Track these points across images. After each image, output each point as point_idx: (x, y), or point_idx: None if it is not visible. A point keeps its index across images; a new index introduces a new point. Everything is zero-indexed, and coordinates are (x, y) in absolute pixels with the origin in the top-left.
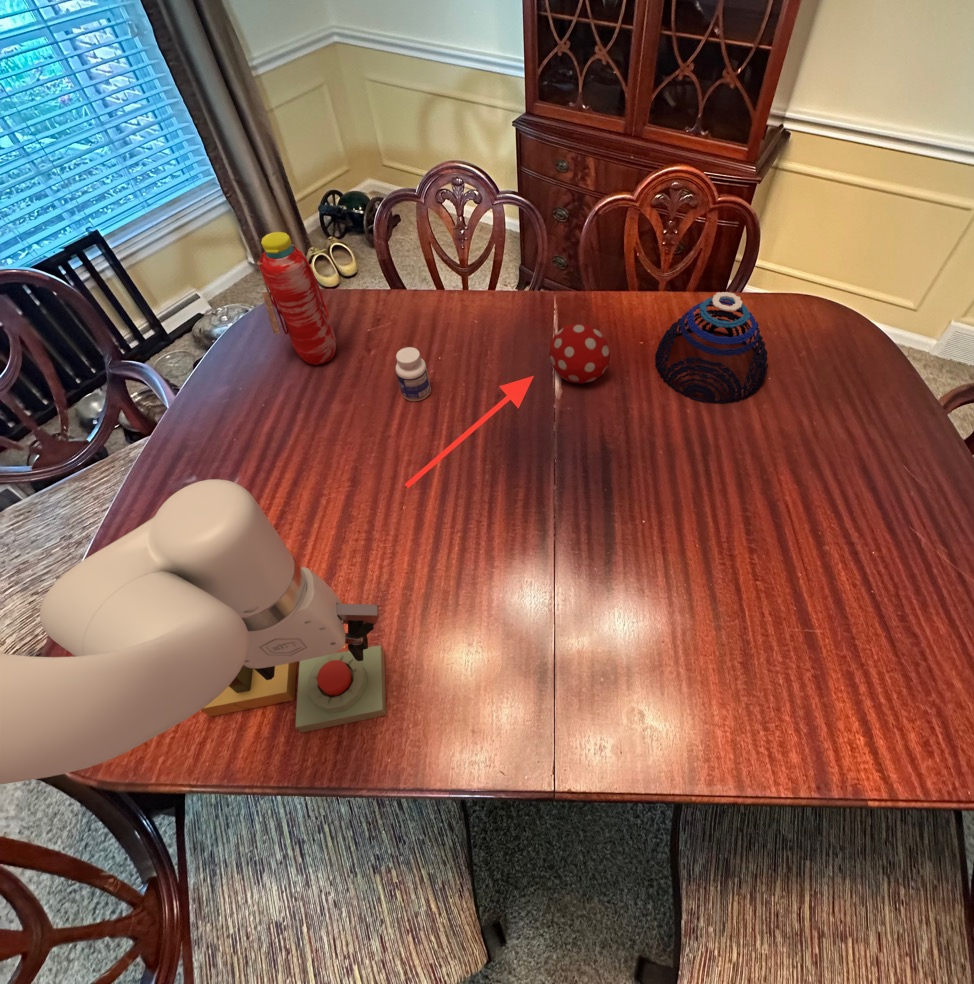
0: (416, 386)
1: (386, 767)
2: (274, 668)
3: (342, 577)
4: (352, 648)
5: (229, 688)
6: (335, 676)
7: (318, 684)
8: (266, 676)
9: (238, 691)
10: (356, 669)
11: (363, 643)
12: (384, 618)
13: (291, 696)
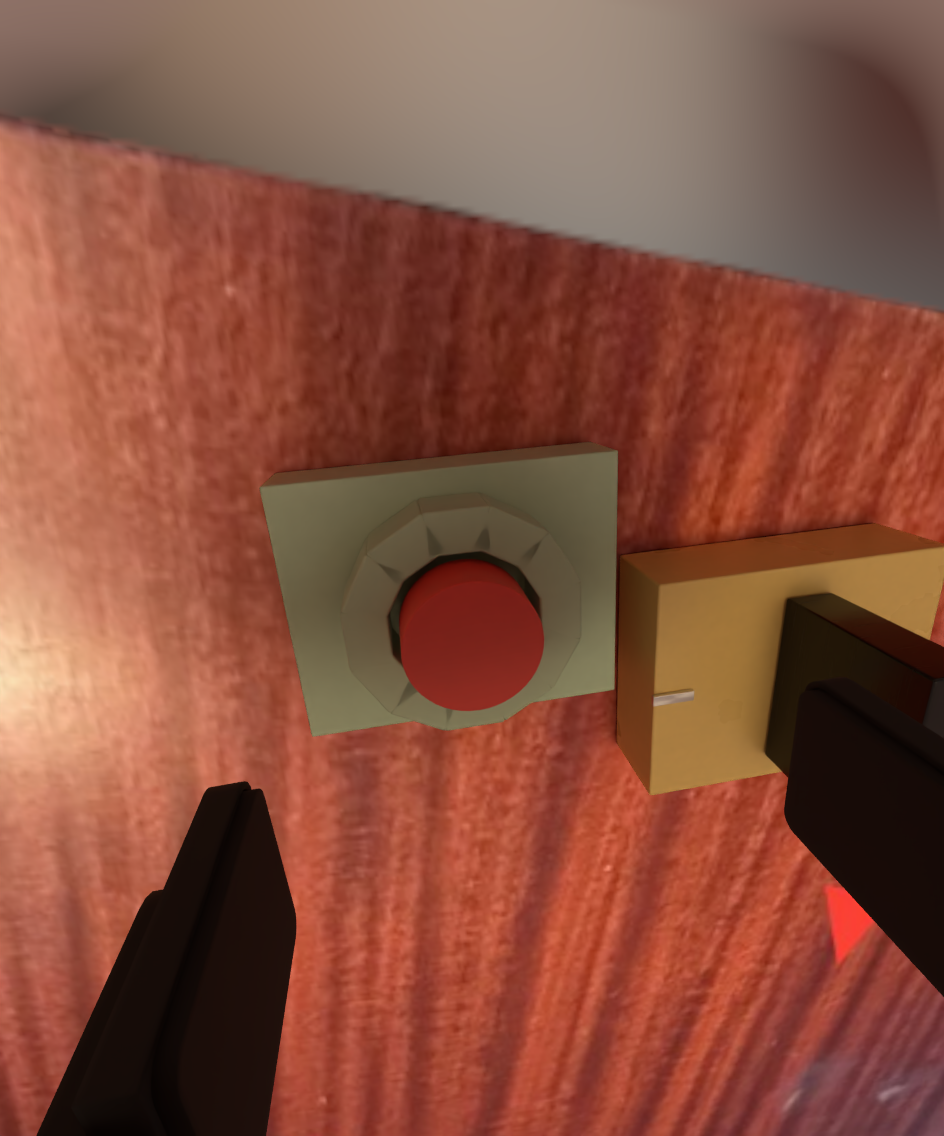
0: None
1: (237, 259)
2: (798, 740)
3: (493, 910)
4: (98, 1096)
5: None
6: (460, 643)
7: (535, 612)
8: (881, 715)
9: (831, 598)
10: (379, 661)
11: (85, 1032)
12: (336, 800)
13: (633, 567)
